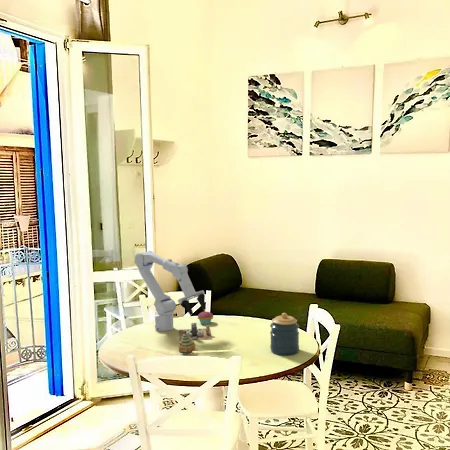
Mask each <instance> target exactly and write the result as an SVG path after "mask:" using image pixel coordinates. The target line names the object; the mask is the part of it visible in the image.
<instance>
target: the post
mask: <svg viewBox="0 0 450 450" xmlns="http://www.w3.org/2000/svg"><path fill="white" fill-rule="evenodd" d="M190 325H191V326H190V327H191V328H190V329H191V332H192V327H193V326H196V327H197V326H198V325H197V323H196V322H192V323H190ZM197 328H198V327H197Z"/></svg>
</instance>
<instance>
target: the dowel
mask: <svg viewBox="0 0 450 450" xmlns="http://www.w3.org/2000/svg"><path fill="white" fill-rule="evenodd" d="M205 328H206V335H210V334H209V328H210V325H209V324H206V326H205Z"/></svg>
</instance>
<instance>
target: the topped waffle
mask: <svg viewBox="0 0 450 450" xmlns="http://www.w3.org/2000/svg"><path fill="white" fill-rule="evenodd" d="M194 350H196V343H195V340H192V339H191V337H189V336H188V334H187V333H186V331H185V332H184V334H183V336H182V339H181V341H179V345H178V352H179V353H180V354H186V355H188V354H191V353H192V352H193V351H194Z"/></svg>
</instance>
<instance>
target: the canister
mask: <svg viewBox="0 0 450 450" xmlns="http://www.w3.org/2000/svg"><path fill="white" fill-rule="evenodd" d="M271 321H272V323H270V325H269V326H270V329H271V330H270V332H269V333H270V348H269V349H270V352H271V353H273V354H275V355H278V356H294V355H296V354H298V353H299V352H300V351H299V349H300V345H299V340H300V339H299V337H300V333H299V328H300V325H299V324H298V323H297V322H298V320H297V319H296V318H295V317H294V316H291V315H288V314H287V313H286V312H282V313H281V315H278V316H275V317H274V318H272V319H271Z"/></svg>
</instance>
